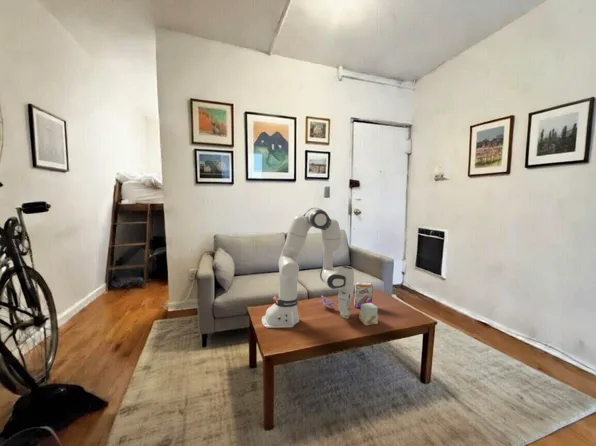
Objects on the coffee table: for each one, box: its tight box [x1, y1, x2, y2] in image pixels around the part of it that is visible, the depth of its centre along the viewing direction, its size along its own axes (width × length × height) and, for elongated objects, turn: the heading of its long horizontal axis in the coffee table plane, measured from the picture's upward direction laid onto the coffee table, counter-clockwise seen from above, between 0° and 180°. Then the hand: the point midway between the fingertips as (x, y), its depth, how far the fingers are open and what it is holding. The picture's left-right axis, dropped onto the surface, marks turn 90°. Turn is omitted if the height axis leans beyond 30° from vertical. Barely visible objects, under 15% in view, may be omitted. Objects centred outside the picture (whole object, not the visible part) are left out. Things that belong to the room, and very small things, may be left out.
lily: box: [318, 295, 338, 312], centre depth 177 cm, size 12×12×10 cm
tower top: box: [360, 302, 378, 317], centre depth 161 cm, size 7×7×5 cm
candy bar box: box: [353, 281, 374, 309], centre depth 182 cm, size 11×5×16 cm, turn 84°
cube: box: [339, 307, 351, 320], centre depth 168 cm, size 5×5×5 cm
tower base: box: [358, 310, 379, 326], centre depth 162 cm, size 8×8×5 cm
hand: (345, 312), depth 168 cm, fingers open, 8 cm apart
